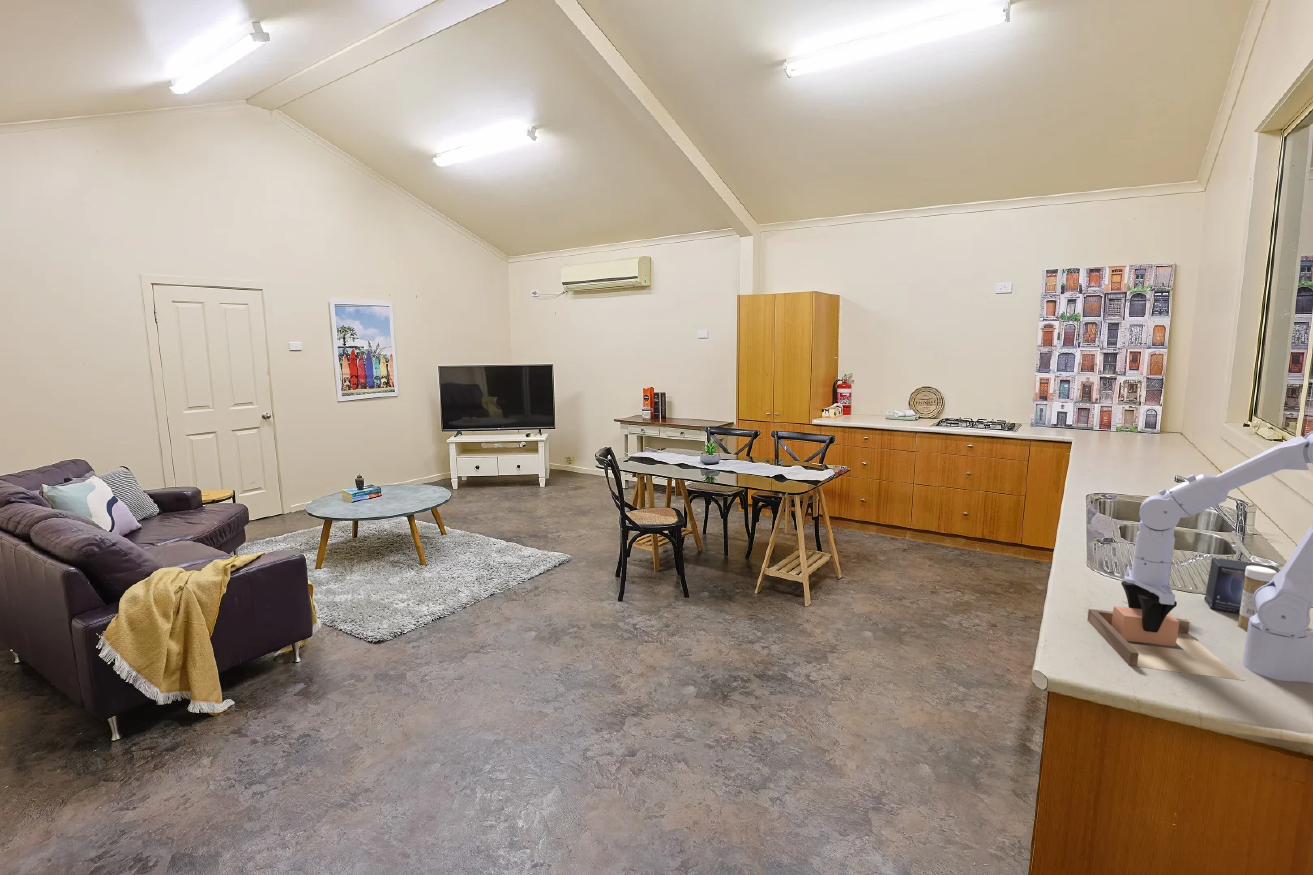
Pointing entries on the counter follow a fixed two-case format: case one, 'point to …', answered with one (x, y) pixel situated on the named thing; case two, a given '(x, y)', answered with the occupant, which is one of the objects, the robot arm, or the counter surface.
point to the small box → (1227, 584)
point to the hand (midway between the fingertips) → (1143, 625)
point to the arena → (1162, 650)
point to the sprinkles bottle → (1252, 592)
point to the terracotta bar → (1132, 629)
